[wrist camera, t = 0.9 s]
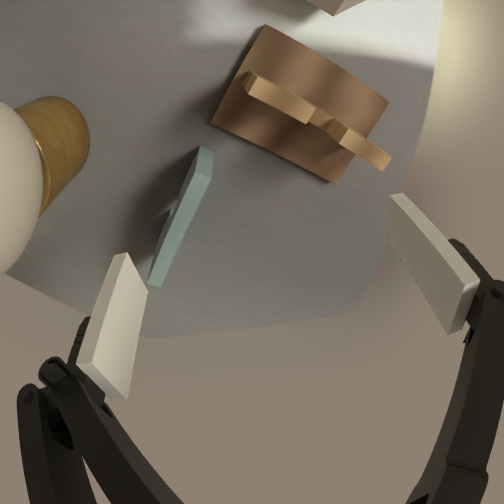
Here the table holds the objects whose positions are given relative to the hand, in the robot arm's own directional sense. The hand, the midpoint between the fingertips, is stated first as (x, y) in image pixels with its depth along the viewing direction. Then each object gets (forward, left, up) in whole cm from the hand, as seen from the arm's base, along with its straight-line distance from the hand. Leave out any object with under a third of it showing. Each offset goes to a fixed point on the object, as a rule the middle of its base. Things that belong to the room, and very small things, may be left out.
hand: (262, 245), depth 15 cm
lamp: (-20, -7, -22) cm, 31 cm away
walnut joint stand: (+5, +6, -22) cm, 23 cm away
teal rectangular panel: (-2, -10, -22) cm, 24 cm away
